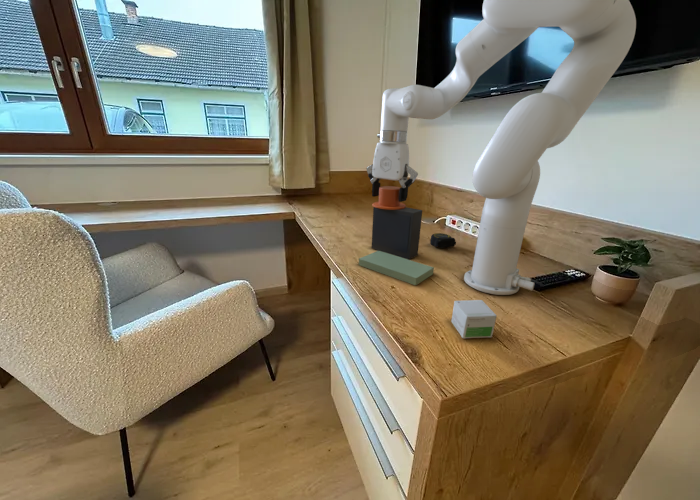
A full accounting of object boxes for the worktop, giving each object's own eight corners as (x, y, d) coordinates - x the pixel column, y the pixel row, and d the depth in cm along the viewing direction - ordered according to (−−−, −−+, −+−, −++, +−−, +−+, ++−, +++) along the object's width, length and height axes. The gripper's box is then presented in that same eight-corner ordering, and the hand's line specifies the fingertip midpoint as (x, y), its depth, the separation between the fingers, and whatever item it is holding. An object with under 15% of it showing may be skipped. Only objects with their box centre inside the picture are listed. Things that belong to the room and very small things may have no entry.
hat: (411, 206, 94) (413, 188, 92) (393, 211, 87) (394, 191, 85) (385, 201, 100) (386, 184, 98) (365, 205, 93) (366, 187, 91)
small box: (462, 339, 55) (466, 316, 53) (450, 321, 60) (453, 299, 59) (493, 338, 56) (498, 315, 54) (478, 320, 61) (482, 298, 59)
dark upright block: (417, 255, 94) (422, 210, 89) (408, 259, 90) (413, 213, 86) (380, 244, 103) (383, 202, 98) (371, 248, 99) (373, 205, 94)
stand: (433, 274, 81) (434, 267, 80) (415, 285, 75) (416, 278, 74) (378, 256, 92) (378, 250, 92) (358, 265, 86) (358, 258, 85)
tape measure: (436, 250, 98) (438, 239, 97) (426, 243, 104) (427, 233, 103) (455, 249, 100) (457, 238, 99) (443, 242, 106) (445, 232, 105)
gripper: (361, 137, 90) (358, 195, 96) (413, 139, 79) (406, 205, 85) (376, 137, 95) (373, 193, 101) (427, 139, 84) (420, 201, 90)
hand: (388, 198), depth 93 cm, fingers open, 9 cm apart
